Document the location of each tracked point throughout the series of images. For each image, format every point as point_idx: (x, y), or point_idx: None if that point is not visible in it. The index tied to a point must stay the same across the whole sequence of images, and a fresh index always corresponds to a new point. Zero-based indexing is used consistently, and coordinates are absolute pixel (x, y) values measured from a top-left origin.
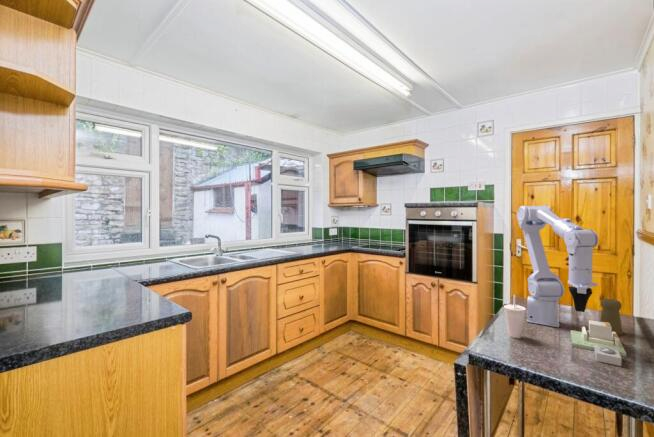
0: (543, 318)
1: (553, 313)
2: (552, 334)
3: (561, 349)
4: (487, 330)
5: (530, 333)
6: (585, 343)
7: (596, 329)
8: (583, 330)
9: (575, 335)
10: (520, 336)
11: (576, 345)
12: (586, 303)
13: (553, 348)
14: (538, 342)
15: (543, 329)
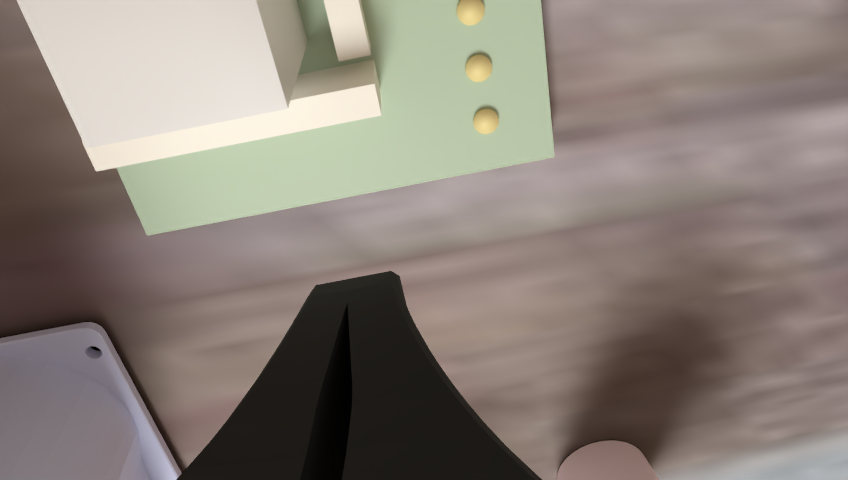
0: (123, 467)
1: (29, 464)
2: None
3: (686, 193)
4: None
5: None
6: (487, 58)
7: (270, 10)
8: (245, 135)
9: (289, 171)
10: (626, 450)
11: (547, 117)
12: (434, 367)
13: (701, 241)
14: (632, 343)
15: None
